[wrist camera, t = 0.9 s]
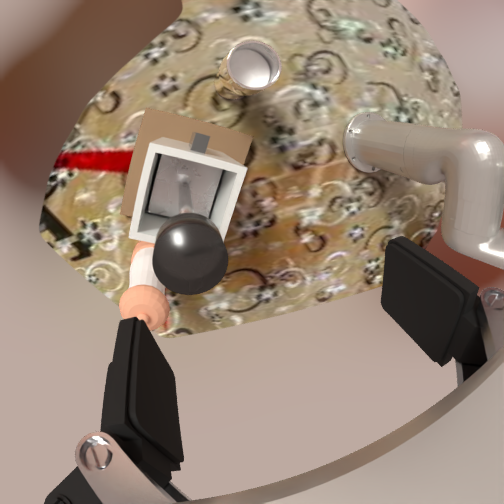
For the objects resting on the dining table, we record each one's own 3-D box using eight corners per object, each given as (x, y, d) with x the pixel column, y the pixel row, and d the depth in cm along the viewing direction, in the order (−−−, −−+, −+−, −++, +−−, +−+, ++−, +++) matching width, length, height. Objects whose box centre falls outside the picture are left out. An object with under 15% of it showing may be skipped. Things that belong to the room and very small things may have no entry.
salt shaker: (149, 228, 47) (135, 286, 31) (179, 253, 51) (182, 318, 34) (125, 256, 48) (105, 322, 32) (155, 279, 52) (149, 349, 35)
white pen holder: (250, 136, 45) (295, 143, 27) (219, 231, 51) (241, 292, 33) (147, 108, 38) (123, 95, 21) (122, 210, 45) (90, 263, 27)
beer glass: (222, 108, 42) (241, 100, 28) (204, 74, 38) (214, 51, 25) (259, 92, 42) (292, 79, 28) (241, 58, 38) (268, 32, 25)
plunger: (222, 166, 33) (272, 216, 16) (205, 222, 36) (233, 322, 18) (163, 151, 31) (137, 183, 13) (148, 210, 33) (119, 304, 16)
